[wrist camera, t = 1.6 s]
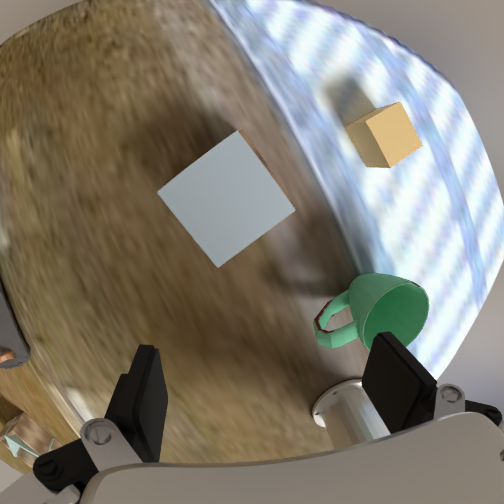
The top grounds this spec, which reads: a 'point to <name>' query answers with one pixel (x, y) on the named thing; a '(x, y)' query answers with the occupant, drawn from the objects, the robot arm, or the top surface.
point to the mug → (375, 311)
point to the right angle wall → (21, 444)
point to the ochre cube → (384, 136)
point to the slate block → (226, 199)
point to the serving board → (10, 338)
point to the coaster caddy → (28, 437)
